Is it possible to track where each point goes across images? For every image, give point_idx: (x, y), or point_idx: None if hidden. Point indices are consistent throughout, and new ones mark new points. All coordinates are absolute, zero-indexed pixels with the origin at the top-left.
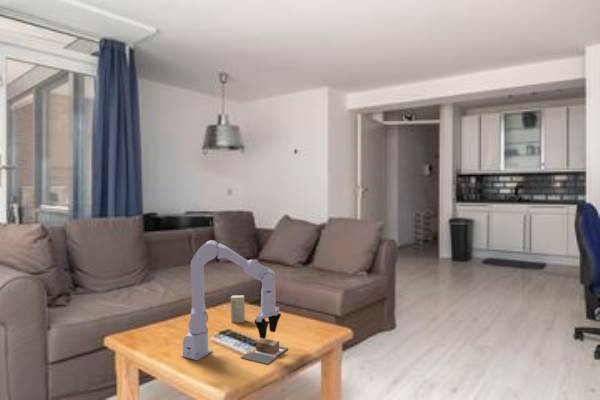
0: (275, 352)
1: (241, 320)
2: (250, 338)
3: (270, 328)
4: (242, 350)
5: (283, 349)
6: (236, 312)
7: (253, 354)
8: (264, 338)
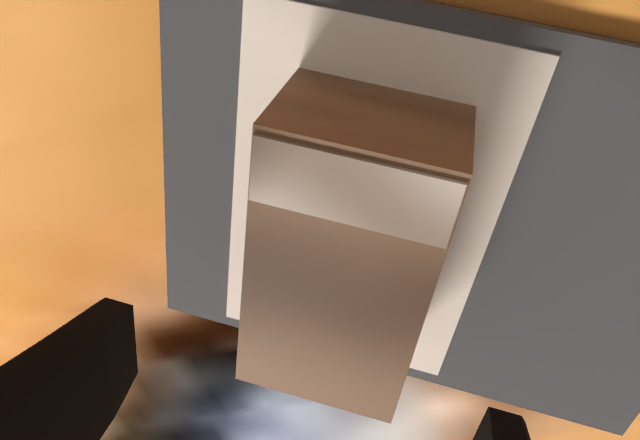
0: (413, 96)
1: None
2: (123, 408)
3: (105, 413)
4: (407, 432)
5: (233, 13)
6: None
7: (516, 338)
8: (520, 419)
